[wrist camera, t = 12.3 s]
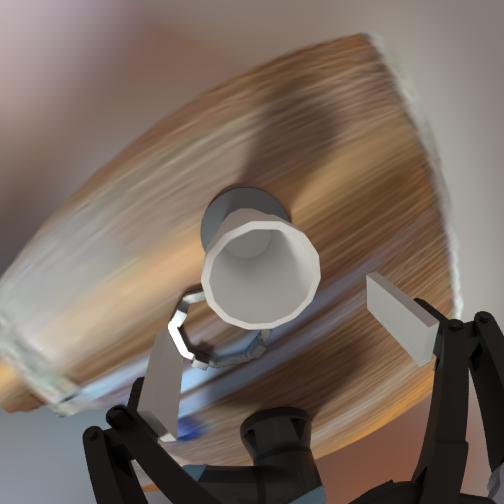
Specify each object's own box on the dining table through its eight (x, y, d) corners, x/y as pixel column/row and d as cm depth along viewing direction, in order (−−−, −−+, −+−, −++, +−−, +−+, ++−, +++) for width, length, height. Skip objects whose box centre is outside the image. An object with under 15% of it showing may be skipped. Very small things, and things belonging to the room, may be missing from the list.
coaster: (295, 259, 36) (296, 262, 35) (214, 281, 36) (214, 283, 35) (279, 178, 32) (280, 178, 31) (190, 200, 32) (189, 201, 31)
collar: (274, 350, 41) (277, 359, 39) (191, 368, 40) (190, 378, 38) (255, 274, 36) (257, 282, 34) (158, 299, 35) (155, 307, 33)
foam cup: (297, 239, 34) (339, 286, 22) (239, 282, 35) (251, 346, 23) (253, 179, 31) (276, 194, 19) (191, 227, 32) (176, 271, 20)
